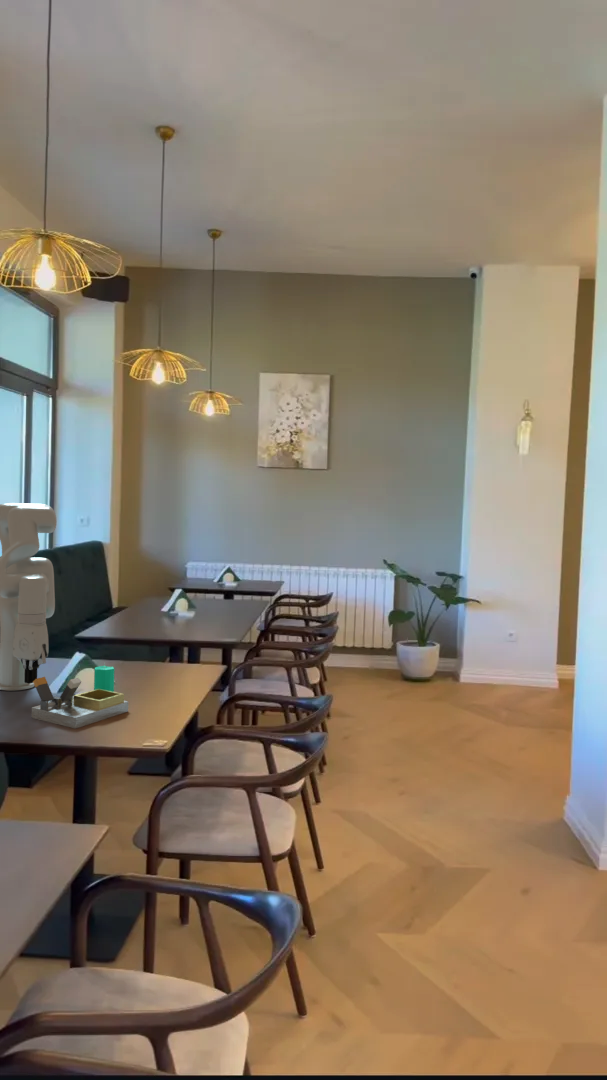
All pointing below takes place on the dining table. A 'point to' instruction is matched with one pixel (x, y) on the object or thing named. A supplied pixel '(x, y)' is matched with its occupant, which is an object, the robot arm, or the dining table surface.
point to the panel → (82, 708)
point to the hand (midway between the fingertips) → (30, 682)
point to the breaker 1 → (44, 691)
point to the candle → (104, 678)
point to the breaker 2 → (70, 690)
